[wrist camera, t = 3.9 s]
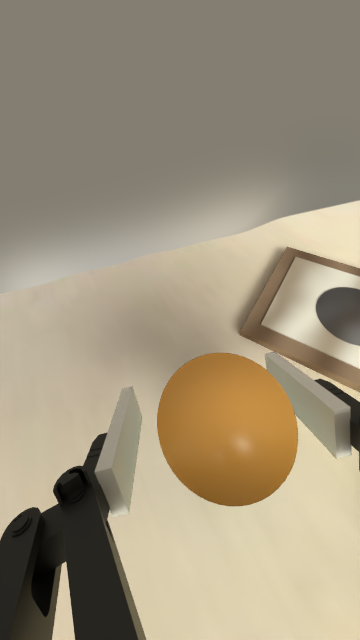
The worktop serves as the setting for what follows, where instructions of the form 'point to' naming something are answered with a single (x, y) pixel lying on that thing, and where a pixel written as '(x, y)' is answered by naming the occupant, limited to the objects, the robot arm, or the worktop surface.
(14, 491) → the worktop surface
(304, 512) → the worktop surface
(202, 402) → the orange-topped post
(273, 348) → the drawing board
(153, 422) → the worktop surface
